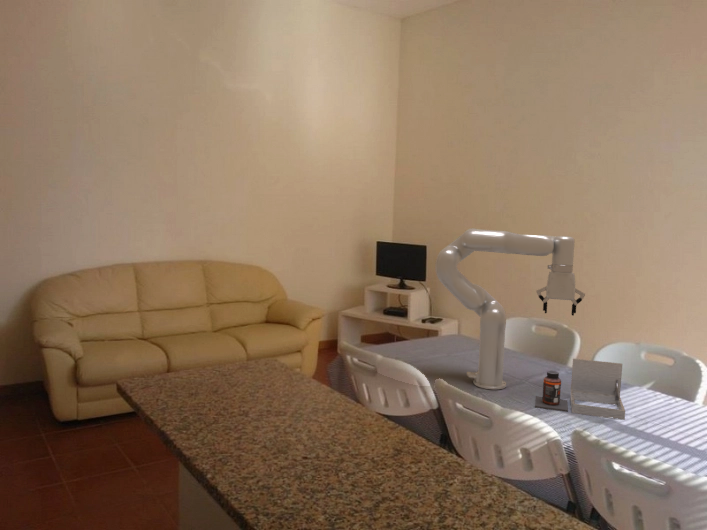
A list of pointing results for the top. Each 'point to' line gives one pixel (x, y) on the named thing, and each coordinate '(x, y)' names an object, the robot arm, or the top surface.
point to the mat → (560, 407)
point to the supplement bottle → (551, 388)
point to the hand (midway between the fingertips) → (559, 313)
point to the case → (596, 387)
